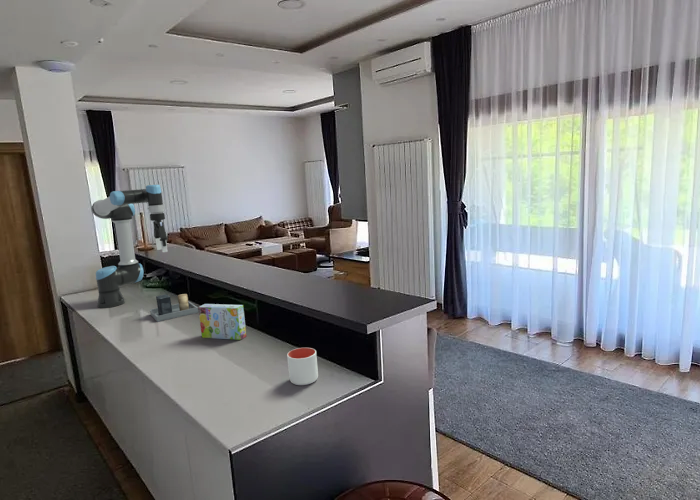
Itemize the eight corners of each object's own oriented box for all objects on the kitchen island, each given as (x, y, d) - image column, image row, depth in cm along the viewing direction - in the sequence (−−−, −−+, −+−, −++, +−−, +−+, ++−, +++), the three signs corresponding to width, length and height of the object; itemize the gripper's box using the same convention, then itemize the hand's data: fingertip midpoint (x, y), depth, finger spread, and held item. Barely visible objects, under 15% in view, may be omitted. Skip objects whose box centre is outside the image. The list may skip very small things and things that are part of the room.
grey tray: (150, 314, 250) (149, 309, 250) (189, 306, 262) (189, 301, 262) (157, 322, 236) (156, 316, 235) (198, 312, 248) (197, 307, 247)
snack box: (247, 336, 205) (243, 304, 202) (240, 340, 199) (236, 308, 197) (208, 333, 212) (204, 303, 209) (201, 338, 206) (196, 306, 204)
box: (172, 314, 245) (170, 296, 243) (162, 317, 242) (159, 298, 240) (168, 312, 251) (166, 293, 249) (158, 314, 248) (155, 296, 246)
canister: (178, 310, 252) (176, 295, 251) (187, 308, 255) (185, 293, 254) (181, 312, 248) (178, 296, 247) (190, 310, 251) (188, 295, 250)
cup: (290, 375, 161) (287, 348, 159) (318, 372, 161) (315, 346, 160) (289, 388, 151) (286, 360, 149) (318, 385, 152) (316, 357, 150)
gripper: (145, 213, 255) (150, 249, 258) (154, 214, 234) (160, 254, 238) (159, 211, 259) (164, 247, 262) (169, 212, 238) (174, 252, 242)
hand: (162, 250), depth 250 cm, fingers open, 13 cm apart
